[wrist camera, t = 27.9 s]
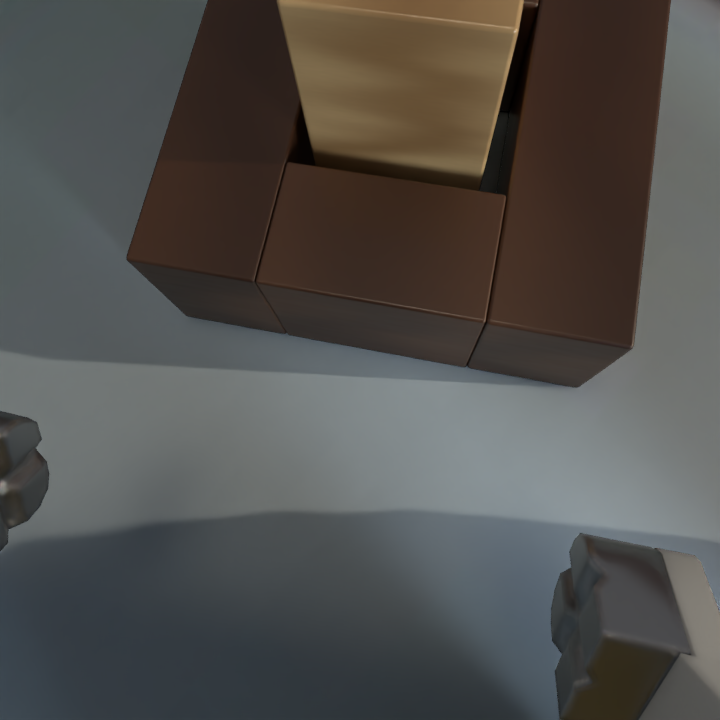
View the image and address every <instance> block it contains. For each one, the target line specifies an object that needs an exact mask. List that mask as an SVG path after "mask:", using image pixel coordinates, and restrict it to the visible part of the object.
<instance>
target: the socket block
mask: <svg viewBox="0 0 720 720" xmlns="http://www.w3.org/2000/svg"><path fill="white" fill-rule="evenodd" d="M670 3H671V0H524V4H523V9H522V15H521V21H520V27H519V32H518V36H517V40H516V44H515V48H514V52H513V56H512V60H511V64H510V68H509V72H508V76H507V81H506V85H505V89H504V93H503V97H502V101H501V105H500V109H499V110H501V111H509V110H510V115H509V121H508V126H507V132H506V138H505V144H504V150H503V156H502V161H501V167H500V173H499V179H498V185H497V191H496V193H489V192H483V191H476V190H469V189H463V188H456V187H450V186H443V185H437V184H430V183H424V182H417V181H410V180H404V179H397V178H391V177H384V176H378V175H371V174H364V173H358V172H351V171H345V170H338V169H332V168H325V167H318V166H316V165H315V161H314V157H313V152H312V148H311V144H310V140H309V136H308V131H307V127H306V123H305V119H304V115H303V110H302V106H301V102H300V98H299V94H298V89H297V85H296V81H295V77H294V73H293V68H292V64H291V60H290V56H289V52H288V47H287V43H286V39H285V35H284V31H283V26H282V22H281V18H280V14H279V10H278V5H277V0H208V2H207V5H206V8H205V11H204V15H203V18H202V21H201V24H200V27H199V30H198V33H197V37H196V40H195V43H194V46H193V49H192V52H191V56H190V59H189V62H188V65H187V68H186V71H185V74H184V78H183V81H182V84H181V87H180V90H179V93H178V96H177V100H176V103H175V106H174V109H173V112H172V115H171V118H170V122H169V125H168V128H167V131H166V134H165V137H164V140H163V144H162V147H161V150H160V153H159V156H158V159H157V162H156V166H155V169H154V172H153V175H152V178H151V181H150V184H149V188H148V191H147V194H146V197H145V200H144V203H143V206H142V210H141V213H140V216H139V219H138V222H137V225H136V228H135V232H134V235H133V238H132V241H131V244H130V247H129V250H128V254H127V261H128V262H129V263H130V264H132V265H133V266H134V267H135V268H136V269H137V270H138V271H139V272H140V273H141V274H142V275H143V276H144V277H145V278H147V279H148V280H149V281H150V282H151V283H152V284H153V285H154V286H155V287H156V288H157V289H158V290H159V291H160V292H162V293H163V294H164V295H165V296H166V297H167V298H168V299H169V300H170V301H171V302H172V303H173V304H174V305H175V306H177V307H178V308H179V309H180V310H181V311H182V312H183V313H184V314H185V315H186V316H190V317H195V318H201V319H206V320H212V321H217V322H223V323H228V324H233V325H239V326H244V327H250V328H255V329H260V330H266V331H271V332H277V333H282V334H286V333H287V334H289V335H293V336H298V337H303V338H309V339H314V340H320V341H325V342H331V343H336V344H341V345H347V346H352V347H358V348H363V349H369V350H374V351H379V352H385V353H390V354H396V355H401V356H406V357H412V358H417V359H423V360H428V361H434V362H439V363H444V364H450V365H455V366H461V367H465V366H466V365H467V367H469V368H473V369H478V370H484V371H489V372H494V373H500V374H505V375H511V376H516V377H521V378H527V379H532V380H538V381H543V382H549V383H554V384H559V385H565V386H570V387H580V386H581V385H582V384H584V383H585V382H587V381H588V380H589V379H591V378H592V377H594V376H595V375H596V374H598V373H599V372H601V371H602V370H603V369H605V368H606V367H608V366H609V365H610V364H612V363H613V362H615V361H616V360H617V359H619V358H620V357H622V356H623V355H624V354H626V353H627V352H629V351H630V350H631V349H632V348H633V347H634V340H635V331H636V321H637V312H638V303H639V293H640V284H641V275H642V265H643V256H644V247H645V237H646V228H647V219H648V209H649V200H650V190H651V181H652V172H653V162H654V153H655V144H656V134H657V125H658V116H659V106H660V97H661V88H662V78H663V69H664V59H665V50H666V41H667V31H668V22H669V13H670ZM510 108H511V109H510Z"/></svg>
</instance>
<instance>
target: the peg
mask: <svg viewBox="0 0 720 720" xmlns="http://www.w3.org/2000/svg"><path fill="white" fill-rule="evenodd" d="M523 4H524V0H277V5H278V10H279V14H280V18H281V22H282V26H283V31H284V35H285V39H286V43H287V47H288V52H289V56H290V60H291V64H292V68H293V73H294V77H295V81H296V85H297V89H298V94H299V98H300V102H301V106H302V110H303V115H304V119H305V123H306V127H307V131H308V136H309V140H310V144H311V148H312V152H313V157H314V161H315V165H316V166H318V167H325V168H332V169H338V170H345V171H351V172H358V173H364V174H371V175H378V176H384V177H391V178H397V179H404V180H410V181H417V182H424V183H430V184H437V185H443V186H450V187H456V188H463V189H469V190H476V191H479V189H480V185H481V181H482V177H483V173H484V169H485V165H486V161H487V157H488V153H489V149H490V145H491V141H492V137H493V133H494V129H495V125H496V121H497V117H498V113H499V109H500V105H501V101H502V97H503V93H504V89H505V85H506V81H507V76H508V72H509V68H510V64H511V60H512V56H513V52H514V48H515V44H516V40H517V36H518V32H519V27H520V21H521V15H522V9H523Z"/></svg>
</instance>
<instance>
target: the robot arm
mask: <svg viewBox="0 0 720 720" xmlns="http://www.w3.org/2000/svg"><path fill="white" fill-rule="evenodd" d="M41 440H42V438H41V434H40V431H39V427H38V424H37V422H36V421H34V420H32V419H29V418H27V417H23V416H19V415H15V414H10V413H6V412H2V411H0V551H1V550H2V549H3V548H4V547H5V546H6V545H7V544H8V533H9V529H11V528H13V527H15V526H17V525H20V524H22V523H24V522H26V521H28V520H29V519H30V518H31V517H32V515H33V514H34V513H35V512H36V511H37V509H38V508H39V507H40V506H41V503H42V501H43V499H44V497H45V494H46V492H47V490H48V484H49V470H48V465H47V461H46V460H45V459H44V458H43V457H42V456H41V454H40V453H39V452H38V451H37V450H36V449H35V448H36V447H37V445H38V444H39V443H40V441H41ZM569 553H570V561H571V568H569V569H568V570H566V571H564V572H562V573H560V576H559V579H558V581H557V584H556V587H555V590H554V595H553V601H552V607H551V633H552V641H553V643H554V644H555V645H556V647H557V648H558V650H559V651H560V652H561V654H562V656H561V658H560V660H559V663H558V665H557V667H556V669H555V678H556V689H557V699H558V709H559V719H560V720H720V612H719V609H718V606H717V604H716V601H715V598H714V596H713V593H712V591H711V588H710V585H709V583H708V580H707V577H706V575H705V572H704V569H703V567H702V564H701V562H700V561H699V560H698V559H697V558H696V556H695V555H690V554H685V553H680V552H675V551H669V550H664V549H659V548H652V547H648V546H643V545H638V544H633V543H628V542H623V541H618V540H613V539H608V538H603V537H598V536H593V535H588V534H583V533H580V534H579V535H578V536H577V537H576V538H575V540H574V542H573V544H572V547H571V549H570V551H569Z"/></svg>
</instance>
